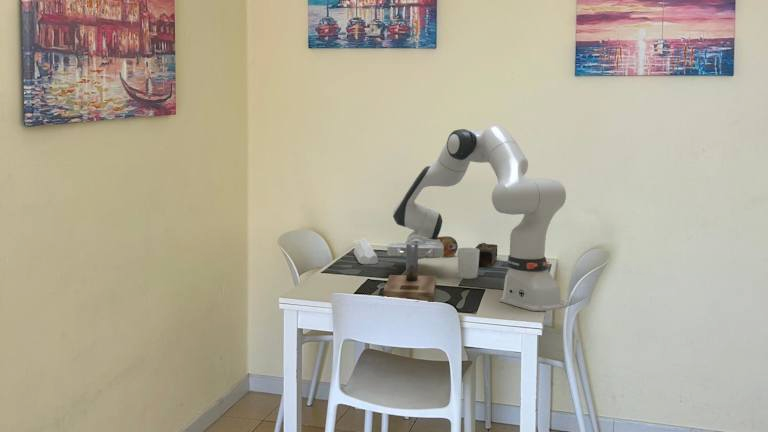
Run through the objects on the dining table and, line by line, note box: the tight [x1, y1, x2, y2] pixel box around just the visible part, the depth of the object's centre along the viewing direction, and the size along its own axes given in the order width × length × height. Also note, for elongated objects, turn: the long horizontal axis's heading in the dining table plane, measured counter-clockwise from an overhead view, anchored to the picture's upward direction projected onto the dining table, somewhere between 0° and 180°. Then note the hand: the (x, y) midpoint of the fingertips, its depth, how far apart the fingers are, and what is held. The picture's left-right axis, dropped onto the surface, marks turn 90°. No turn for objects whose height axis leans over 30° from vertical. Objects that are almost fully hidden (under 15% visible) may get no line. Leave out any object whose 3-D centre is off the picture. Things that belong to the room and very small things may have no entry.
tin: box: [428, 235, 459, 259], centre depth 345 cm, size 15×3×8 cm, turn 104°
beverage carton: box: [475, 242, 498, 269], centre depth 335 cm, size 8×19×7 cm, turn 166°
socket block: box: [382, 274, 437, 302], centre depth 286 cm, size 16×24×3 cm, turn 175°
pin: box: [405, 244, 419, 281], centre depth 290 cm, size 4×4×12 cm
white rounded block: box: [353, 236, 379, 265], centre depth 340 cm, size 7×7×24 cm
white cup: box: [457, 247, 480, 280], centre depth 310 cm, size 8×8×10 cm
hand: (414, 254), depth 301 cm, fingers open, 8 cm apart
